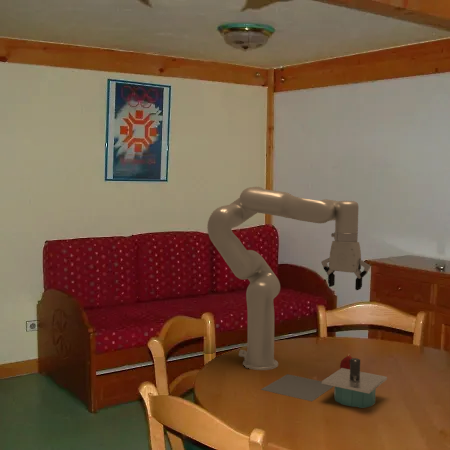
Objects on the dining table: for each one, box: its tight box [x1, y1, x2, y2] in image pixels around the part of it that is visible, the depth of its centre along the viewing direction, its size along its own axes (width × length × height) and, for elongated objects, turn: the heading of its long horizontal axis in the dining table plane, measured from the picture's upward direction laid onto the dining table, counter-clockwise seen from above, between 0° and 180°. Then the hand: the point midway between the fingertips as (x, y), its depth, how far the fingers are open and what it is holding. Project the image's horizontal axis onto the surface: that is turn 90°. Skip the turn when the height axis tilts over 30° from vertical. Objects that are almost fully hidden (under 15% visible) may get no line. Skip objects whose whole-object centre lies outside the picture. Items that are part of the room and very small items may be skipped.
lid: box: [321, 357, 388, 394], centre depth 199 cm, size 15×15×7 cm
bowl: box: [333, 386, 377, 409], centre depth 199 cm, size 12×12×6 cm
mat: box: [260, 373, 335, 402], centre depth 210 cm, size 18×18×1 cm
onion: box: [339, 353, 353, 369], centre depth 221 cm, size 6×6×8 cm
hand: (344, 287), depth 221 cm, fingers open, 9 cm apart
